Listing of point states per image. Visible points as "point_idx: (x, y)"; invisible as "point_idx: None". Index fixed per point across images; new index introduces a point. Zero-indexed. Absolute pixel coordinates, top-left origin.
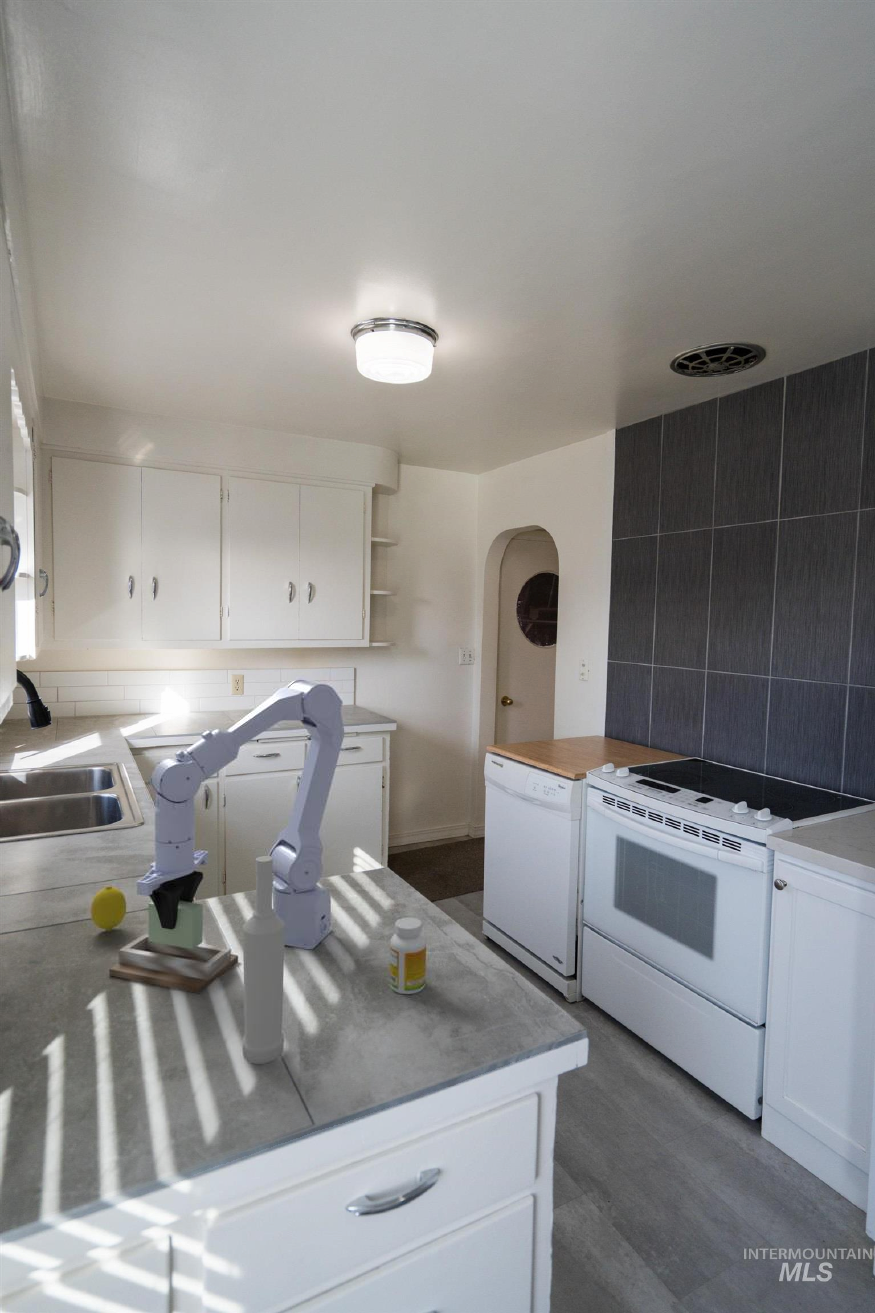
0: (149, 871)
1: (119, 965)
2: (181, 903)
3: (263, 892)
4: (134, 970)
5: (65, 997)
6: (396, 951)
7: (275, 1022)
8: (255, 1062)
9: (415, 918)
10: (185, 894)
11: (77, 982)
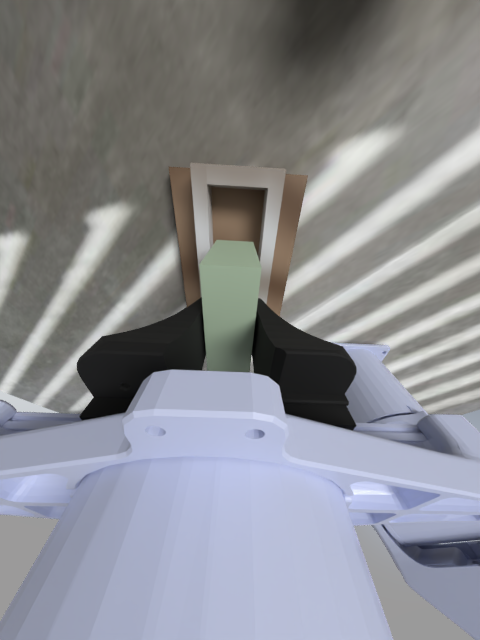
0: (9, 475)
1: (188, 180)
2: (236, 354)
3: None
4: (186, 229)
5: (72, 136)
6: None
7: None
8: None
9: None
10: (255, 369)
11: (118, 107)
